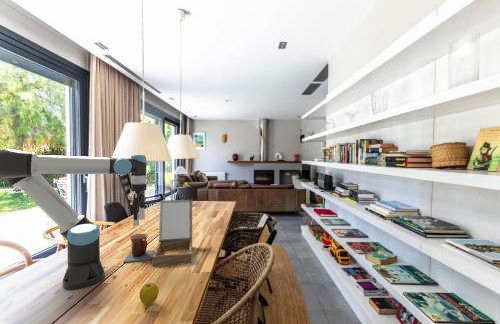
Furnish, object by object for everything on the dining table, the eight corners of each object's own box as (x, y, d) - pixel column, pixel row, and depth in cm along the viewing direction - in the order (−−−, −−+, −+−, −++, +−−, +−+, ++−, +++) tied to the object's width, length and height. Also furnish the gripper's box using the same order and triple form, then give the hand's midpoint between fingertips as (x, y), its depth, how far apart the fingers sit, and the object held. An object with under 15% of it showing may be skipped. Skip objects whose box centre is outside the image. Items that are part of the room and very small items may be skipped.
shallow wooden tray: (191, 262, 124) (191, 251, 124) (152, 266, 120) (152, 255, 120) (192, 246, 147) (192, 237, 147) (159, 249, 143) (158, 239, 143)
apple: (135, 307, 87) (135, 285, 87) (148, 297, 93) (148, 277, 93) (149, 311, 85) (149, 288, 84) (162, 301, 90) (162, 279, 90)
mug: (127, 255, 132) (127, 236, 132) (142, 250, 139) (142, 232, 139) (138, 260, 125) (137, 241, 125) (154, 255, 132) (153, 236, 131)
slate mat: (150, 260, 127) (150, 259, 127) (123, 263, 124) (123, 261, 124) (154, 251, 139) (154, 250, 139) (130, 253, 137) (130, 252, 137)
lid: (192, 199, 154) (192, 199, 155) (160, 200, 150) (160, 201, 151) (192, 237, 147) (192, 237, 148) (158, 239, 143) (159, 240, 144)
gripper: (141, 185, 120) (141, 228, 120) (150, 181, 144) (150, 216, 144) (124, 186, 118) (125, 229, 118) (137, 181, 143) (137, 217, 143)
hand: (139, 222), depth 131 cm, fingers open, 13 cm apart
